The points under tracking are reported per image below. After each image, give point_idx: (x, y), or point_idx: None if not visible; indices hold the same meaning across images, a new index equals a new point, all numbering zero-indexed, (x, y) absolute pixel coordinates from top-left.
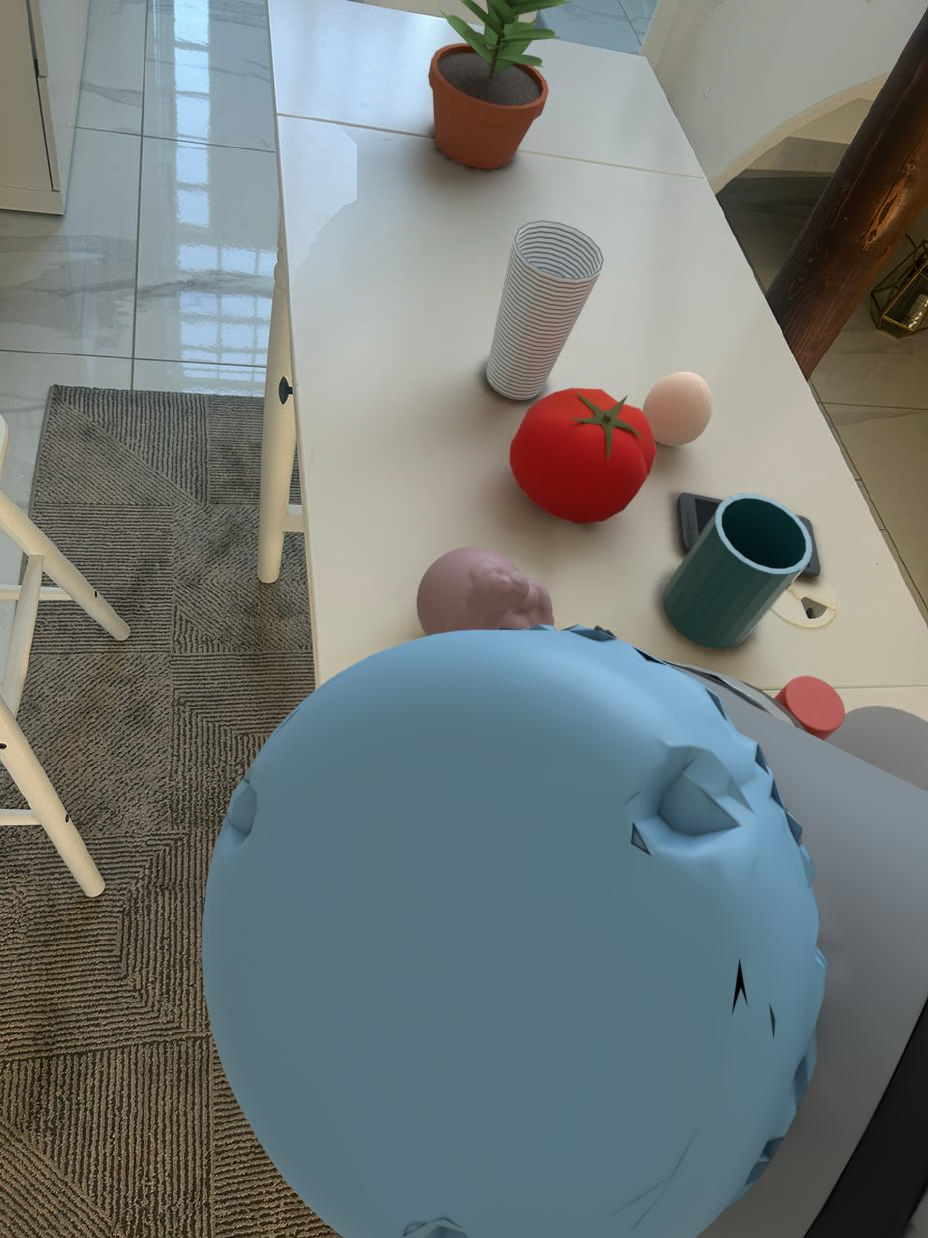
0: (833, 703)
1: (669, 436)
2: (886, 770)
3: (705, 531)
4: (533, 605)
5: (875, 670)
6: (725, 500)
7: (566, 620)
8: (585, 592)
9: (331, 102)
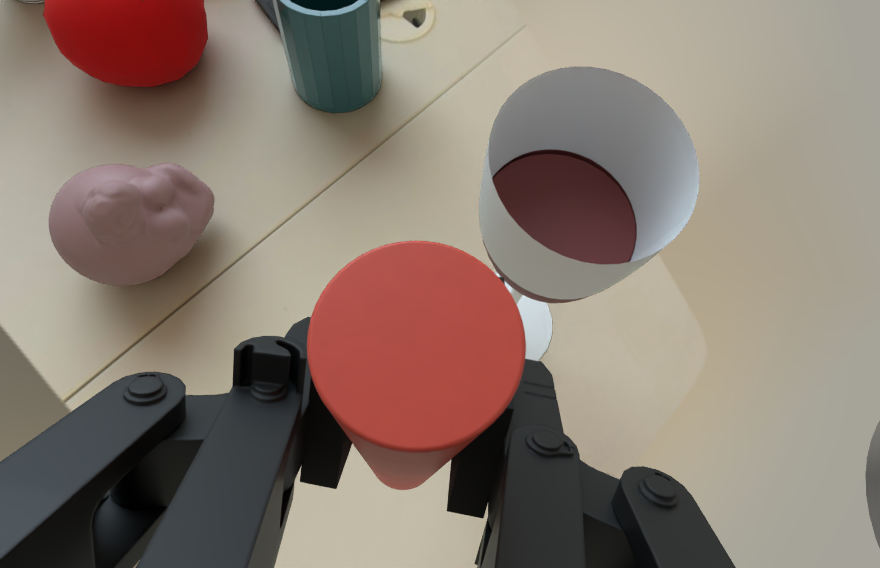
0: (467, 293)
1: None
2: (562, 138)
3: (276, 10)
4: (168, 193)
5: (490, 35)
6: None
7: (230, 170)
8: (230, 134)
9: None
